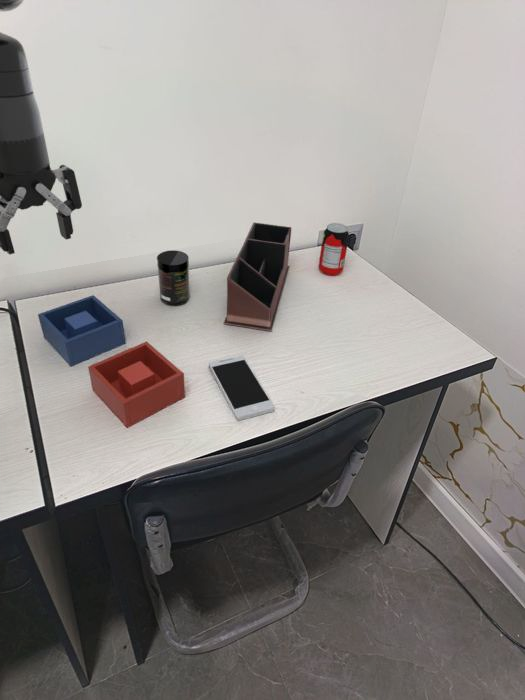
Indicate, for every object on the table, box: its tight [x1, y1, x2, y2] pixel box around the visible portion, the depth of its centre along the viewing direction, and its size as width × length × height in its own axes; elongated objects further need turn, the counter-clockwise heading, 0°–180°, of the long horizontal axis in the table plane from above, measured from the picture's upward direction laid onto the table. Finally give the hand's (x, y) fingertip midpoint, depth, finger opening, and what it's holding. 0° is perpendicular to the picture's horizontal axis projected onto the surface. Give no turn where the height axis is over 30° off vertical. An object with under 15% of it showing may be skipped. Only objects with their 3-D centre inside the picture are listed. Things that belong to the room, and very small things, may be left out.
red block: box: [118, 361, 155, 397], centre depth 86 cm, size 4×4×4 cm
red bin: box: [87, 340, 186, 429], centre depth 86 cm, size 12×12×6 cm
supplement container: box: [156, 250, 191, 307], centre depth 109 cm, size 7×7×10 cm
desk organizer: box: [223, 222, 292, 332], centre depth 113 cm, size 10×29×11 cm, turn 170°
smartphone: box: [208, 354, 275, 421], centre depth 90 cm, size 7×16×1 cm, turn 23°
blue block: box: [64, 311, 98, 338], centre depth 97 cm, size 4×4×4 cm
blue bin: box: [37, 294, 127, 367], centre depth 97 cm, size 12×12×6 cm
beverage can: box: [318, 222, 350, 277], centre depth 124 cm, size 6×6×12 cm
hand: (39, 244), depth 74 cm, fingers open, 8 cm apart
